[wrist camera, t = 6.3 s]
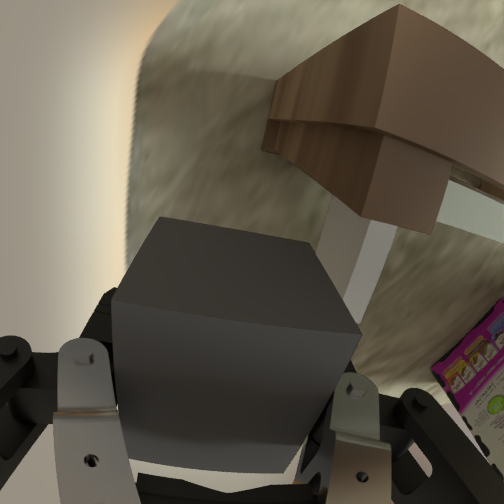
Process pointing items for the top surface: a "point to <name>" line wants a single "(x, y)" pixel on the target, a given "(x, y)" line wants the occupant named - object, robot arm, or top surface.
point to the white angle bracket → (381, 237)
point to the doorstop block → (225, 347)
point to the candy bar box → (479, 383)
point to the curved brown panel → (393, 118)
